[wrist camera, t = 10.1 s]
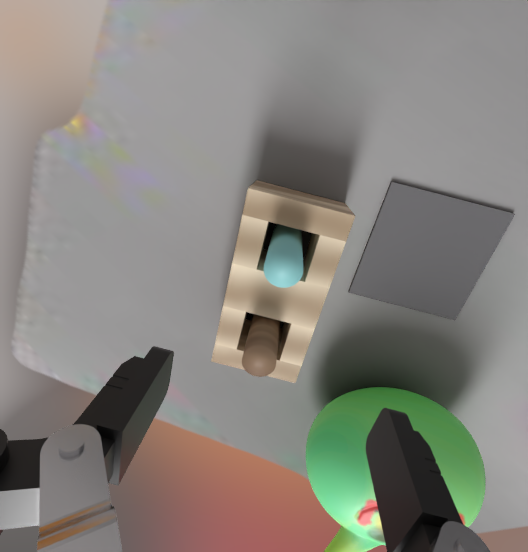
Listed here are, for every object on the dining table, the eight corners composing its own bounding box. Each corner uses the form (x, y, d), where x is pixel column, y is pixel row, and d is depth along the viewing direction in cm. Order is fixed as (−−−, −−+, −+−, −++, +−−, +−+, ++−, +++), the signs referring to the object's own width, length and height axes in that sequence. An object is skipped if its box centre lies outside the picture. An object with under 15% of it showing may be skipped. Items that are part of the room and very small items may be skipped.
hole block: (256, 180, 31) (248, 188, 26) (345, 203, 31) (355, 215, 26) (223, 330, 38) (211, 361, 33) (295, 348, 38) (295, 383, 33)
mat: (391, 181, 30) (392, 181, 30) (513, 213, 30) (515, 213, 30) (348, 291, 35) (348, 292, 35) (453, 318, 35) (455, 320, 35)
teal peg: (276, 217, 32) (268, 246, 23) (305, 224, 32) (308, 256, 23) (269, 244, 34) (259, 282, 24) (297, 251, 34) (297, 291, 24)
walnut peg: (258, 293, 36) (245, 344, 27) (284, 299, 36) (280, 353, 27) (253, 315, 37) (238, 371, 28) (277, 321, 37) (271, 380, 28)
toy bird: (463, 368, 37) (557, 495, 24) (431, 466, 44) (490, 611, 30) (308, 356, 39) (315, 470, 25) (300, 454, 45) (301, 585, 32)
